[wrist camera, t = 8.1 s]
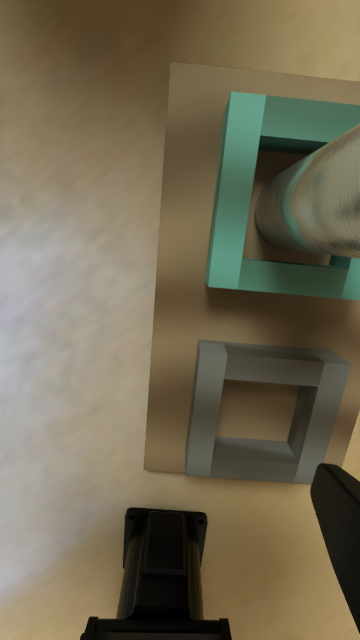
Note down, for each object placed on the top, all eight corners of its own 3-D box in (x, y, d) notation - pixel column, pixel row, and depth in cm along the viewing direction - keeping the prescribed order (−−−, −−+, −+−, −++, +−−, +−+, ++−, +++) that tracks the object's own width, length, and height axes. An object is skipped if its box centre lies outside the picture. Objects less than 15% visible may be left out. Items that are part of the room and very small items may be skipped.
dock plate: (329, 472, 21) (352, 509, 18) (145, 459, 21) (139, 494, 18) (439, 102, 15) (503, 68, 12) (171, 73, 14) (168, 31, 11)
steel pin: (319, 252, 16) (518, 274, 7) (249, 246, 16) (350, 261, 6) (336, 173, 15) (606, 66, 5) (260, 166, 14) (403, 45, 5)
